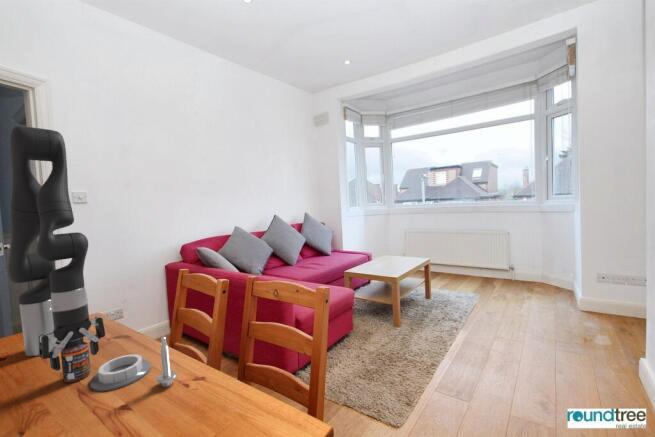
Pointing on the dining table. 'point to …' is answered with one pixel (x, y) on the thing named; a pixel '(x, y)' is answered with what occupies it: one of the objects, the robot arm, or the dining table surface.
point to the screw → (165, 366)
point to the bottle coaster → (123, 383)
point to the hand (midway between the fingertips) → (76, 361)
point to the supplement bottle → (75, 360)
